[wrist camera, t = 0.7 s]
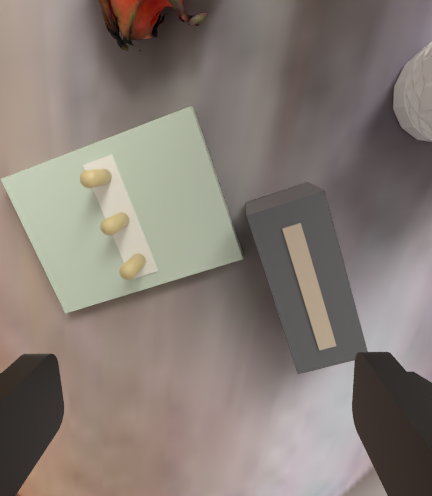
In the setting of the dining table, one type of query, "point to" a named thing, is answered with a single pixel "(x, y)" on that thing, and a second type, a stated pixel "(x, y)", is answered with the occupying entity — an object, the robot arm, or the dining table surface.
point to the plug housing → (306, 276)
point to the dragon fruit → (141, 18)
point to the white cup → (415, 95)
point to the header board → (126, 212)
